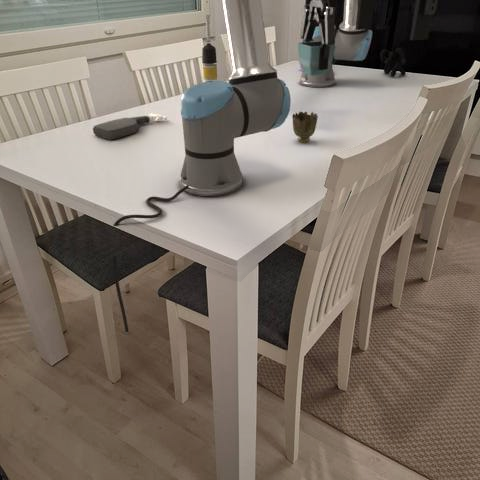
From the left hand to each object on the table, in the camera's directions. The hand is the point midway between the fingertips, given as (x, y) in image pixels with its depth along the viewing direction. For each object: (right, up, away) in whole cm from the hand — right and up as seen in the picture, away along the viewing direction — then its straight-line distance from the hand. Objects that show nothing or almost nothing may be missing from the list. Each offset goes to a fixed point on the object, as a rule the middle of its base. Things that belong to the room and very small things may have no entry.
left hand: (388, 34), depth 71 cm
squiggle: (+48, +44, +138) cm, 153 cm away
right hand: (0, +22, +69) cm, 72 cm away
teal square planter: (0, +20, +70) cm, 73 cm away
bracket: (+12, +53, +154) cm, 163 cm away
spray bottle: (-60, +4, +77) cm, 98 cm away
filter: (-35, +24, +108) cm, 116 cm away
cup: (-5, -3, +64) cm, 64 cm away
